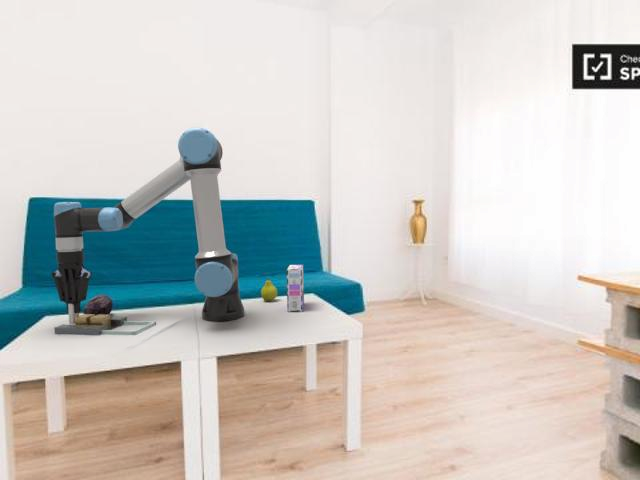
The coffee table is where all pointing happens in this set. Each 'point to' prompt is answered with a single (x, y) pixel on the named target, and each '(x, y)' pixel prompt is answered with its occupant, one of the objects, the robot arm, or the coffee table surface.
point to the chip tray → (116, 332)
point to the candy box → (295, 288)
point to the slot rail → (89, 327)
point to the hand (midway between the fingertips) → (74, 322)
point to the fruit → (268, 291)
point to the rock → (99, 305)
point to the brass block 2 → (101, 320)
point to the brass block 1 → (83, 319)
